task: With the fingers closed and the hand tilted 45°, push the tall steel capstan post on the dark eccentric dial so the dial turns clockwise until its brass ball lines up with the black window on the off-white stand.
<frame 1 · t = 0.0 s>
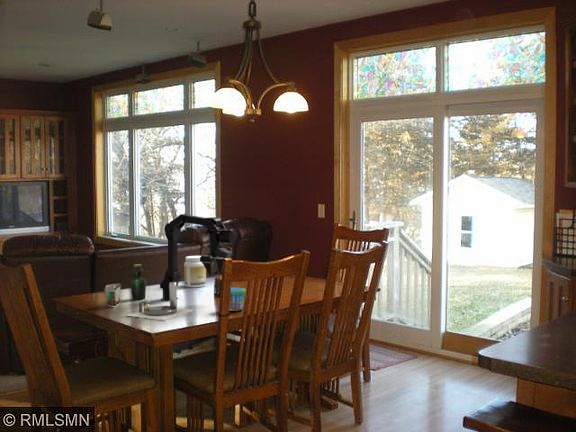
hand: (215, 274, 319), 15 cm above the table, tool pointing down, fingers open, 9 cm apart
potion bottle: (138, 299, 334), on the table
supplement tub: (195, 286, 371), on the table
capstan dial: (160, 297, 299), point 8 cm above the table, hinge at 0.0°
level stand: (160, 313, 299), on the table
snack cup: (234, 311, 304), on the table
food container: (111, 306, 319), on the table
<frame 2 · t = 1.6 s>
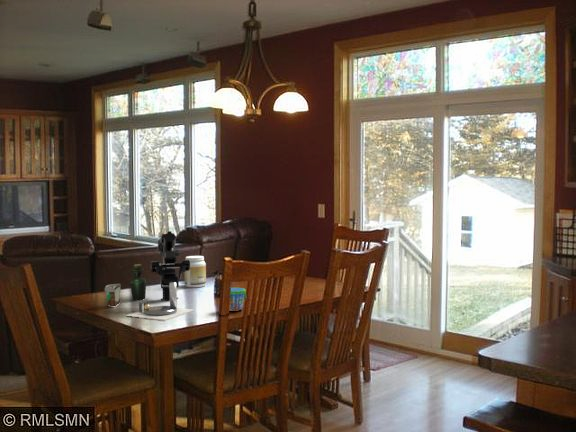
hand: (171, 280, 311), 13 cm above the table, tool tilted 45°, fingers open, 7 cm apart
nothing on the table moved.
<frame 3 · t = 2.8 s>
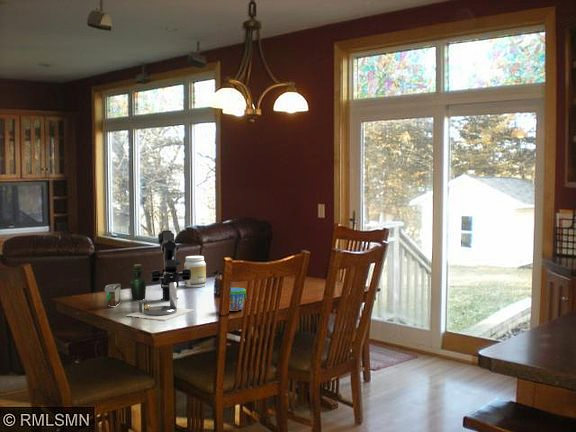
hand: (172, 289, 306), 10 cm above the table, tool tilted 45°, fingers closed
nothing on the table moved.
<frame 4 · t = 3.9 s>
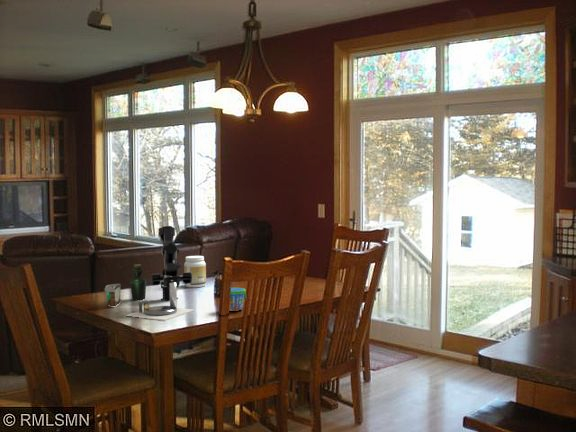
hand: (172, 293, 302), 9 cm above the table, tool tilted 45°, fingers closed, pressing on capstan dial
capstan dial: (160, 297, 299), point 8 cm above the table, hinge at 0.0°, touching gripper
everything else where it was.
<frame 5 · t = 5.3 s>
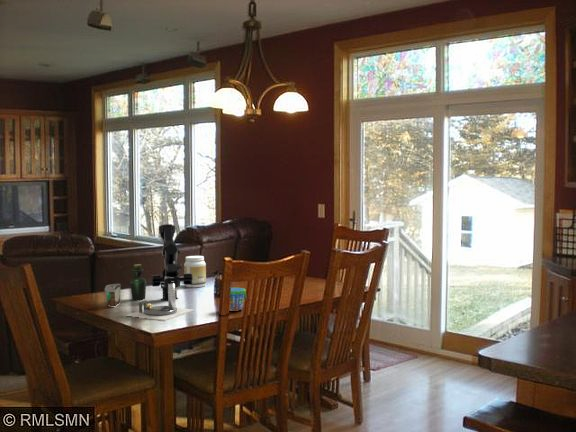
hand: (173, 294, 299), 9 cm above the table, tool tilted 45°, fingers closed
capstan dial: (160, 297, 299), point 8 cm above the table, hinge at -30.5°, touching gripper
everything else where it was.
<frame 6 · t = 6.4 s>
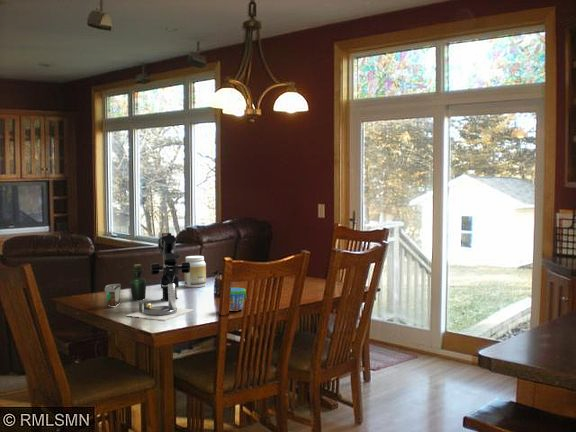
hand: (171, 282, 310), 13 cm above the table, tool tilted 45°, fingers closed
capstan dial: (160, 297, 299), point 8 cm above the table, hinge at -30.5°
everything else where it was.
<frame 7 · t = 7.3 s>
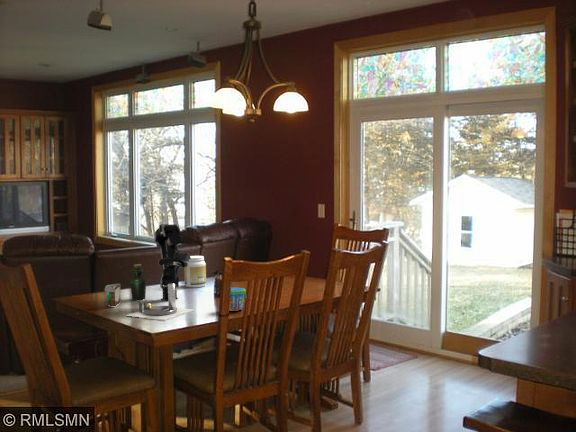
hand: (174, 280, 316), 12 cm above the table, tool tilted 20°, fingers closed
nothing on the table moved.
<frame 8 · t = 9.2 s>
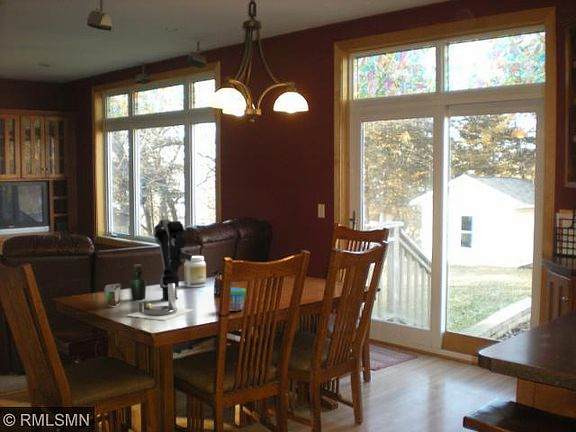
hand: (175, 277, 320), 13 cm above the table, tool pointing down, fingers closed
nothing on the table moved.
at the end: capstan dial at -30° (first picture: +0°) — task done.
